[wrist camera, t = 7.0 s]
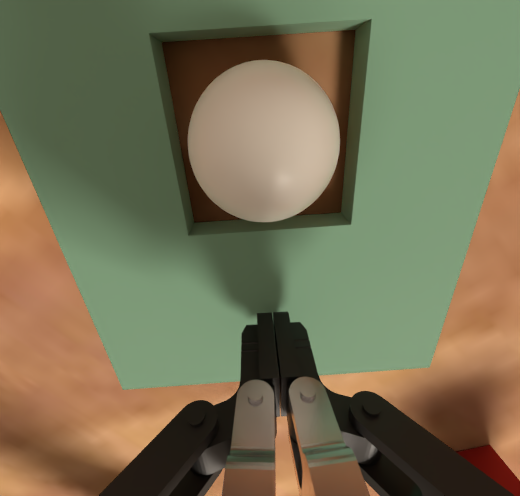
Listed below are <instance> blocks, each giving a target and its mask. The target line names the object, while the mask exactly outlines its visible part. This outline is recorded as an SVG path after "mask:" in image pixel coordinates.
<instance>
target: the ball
mask: <svg viewBox="0 0 520 496" xmlns="http://www.w3.org/2000/svg"><path fill="white" fill-rule="evenodd" d="M339 151H340V130H339V124H338V120H337V116H336V113H335V110H334V108H333V105H332V103H331V101H330V100H329V98H328V96H327V95H326V93H325V92H324V90H323V89H322V88H321V86H320V85H319V84H318V83H317V82H316V81H315V80H314V79H313V78H312V77H310V76H309V75H308V74H306V73H305V72H303V71H302V70H300V69H299V68H297V67H294V66H292V65H290V64H287V63H283V62H279V61H273V60H254V61H249V62H244V63H242V64H239V65H236V66H234V67H232V68H230V69H228V70H226V71H225V72H223V73H222V74H221V75H219V76H218V77H217V78H215V79H214V80H213V81H212V82H211V83H210V84H209V85H208V87H207V88H206V89H205V91H204V92H203V93H202V95H201V96H200V98H199V100H198V102H197V104H196V105H195V108H194V110H193V113H192V116H191V120H190V124H189V129H188V153H189V159H190V164H191V167H192V170H193V172H194V175H195V177H196V179H197V181H198V183H199V185H200V186H201V188H202V189H203V191H204V192H205V193H206V195H207V196H208V197H209V198H210V199H211V200H212V201H213V202H214V203H215V204H216V205H217V206H219V207H220V208H221V209H222V210H224V211H226V212H227V213H229V214H231V215H233V216H236V217H238V218H241V219H244V220H247V221H252V222H274V221H279V220H283V219H287V218H289V217H292V216H294V215H296V214H298V213H300V212H302V211H303V210H305V209H306V208H307V207H309V206H310V205H311V204H312V203H313V202H315V201H316V200H317V199H318V198H319V196H320V195H321V194H322V193H323V192H324V190H325V189H326V187H327V185H328V184H329V182H330V180H331V178H332V176H333V174H334V171H335V169H336V166H337V161H338V157H339Z"/></svg>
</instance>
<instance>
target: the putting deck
mask: <svg viewBox="0 0 520 496" xmlns="http://www.w3.org/2000/svg"><path fill="white" fill-rule="evenodd" d="M343 30H356V31H355V44H354V56H353V69H352V81H351V94H350V106H349V119H348V131H347V144H346V156H345V169H344V181H343V194H342V206H341V213H327V214H312V215H298V216H292V217H289V218H287V219H283V220H279V221H274V222H252V221H247V220H244V219H240V220H225V221H211V222H196V223H194V218H193V213H192V207H191V201H190V196H189V190H188V185H187V179H186V174H185V168H184V163H183V157H182V152H181V146H180V141H179V135H178V130H177V124H176V118H175V113H174V107H173V102H172V96H171V91H170V85H169V80H168V74H167V69H166V63H165V58H164V52H163V46H162V42H173V41H188V40H204V39H219V38H235V37H250V36H266V35H281V34H296V33H312V32H327V31H343ZM519 89H520V0H0V111H1V113H2V115H3V117H4V120H5V122H6V124H7V126H8V129H9V131H10V133H11V136H12V138H13V140H14V142H15V145H16V147H17V149H18V152H19V154H20V156H21V158H22V161H23V163H24V165H25V168H26V170H27V172H28V174H29V177H30V179H31V181H32V183H33V186H34V188H35V190H36V193H37V195H38V197H39V199H40V202H41V204H42V206H43V209H44V211H45V213H46V215H47V218H48V220H49V222H50V224H51V227H52V229H53V231H54V234H55V236H56V238H57V240H58V243H59V245H60V247H61V250H62V252H63V254H64V256H65V259H66V261H67V263H68V265H69V268H70V270H71V272H72V275H73V277H74V279H75V281H76V284H77V286H78V288H79V291H80V293H81V295H82V297H83V300H84V302H85V304H86V306H87V309H88V311H89V313H90V316H91V318H92V320H93V322H94V325H95V327H96V329H97V332H98V334H99V336H100V338H101V341H102V343H103V345H104V347H105V350H106V352H107V354H108V357H109V359H110V361H111V363H112V366H113V368H114V370H115V373H116V375H117V377H118V379H119V382H120V384H121V386H122V389H123V390H126V389H140V388H153V387H167V386H181V385H195V384H208V383H222V382H236V381H240V375H241V337H242V332H243V330H244V328H245V326H246V325H255V324H257V313H269V312H272V318H273V312H286V311H288V313H289V318H290V322H301V324H302V325H303V326H304V327H305V328H306V330H307V333H308V337H309V341H310V345H311V349H312V352H313V356H314V360H315V364H316V368H317V372H318V375H332V374H346V373H360V372H373V371H387V370H401V369H415V368H428V367H430V364H431V361H432V358H433V355H434V352H435V349H436V346H437V343H438V340H439V336H440V333H441V330H442V327H443V324H444V321H445V318H446V315H447V312H448V309H449V305H450V302H451V299H452V296H453V293H454V290H455V287H456V284H457V281H458V278H459V275H460V271H461V268H462V265H463V262H464V259H465V256H466V253H467V250H468V247H469V244H470V240H471V237H472V234H473V231H474V228H475V225H476V222H477V219H478V216H479V213H480V209H481V206H482V203H483V200H484V197H485V194H486V191H487V188H488V185H489V182H490V179H491V175H492V172H493V169H494V166H495V163H496V160H497V157H498V154H499V151H500V148H501V144H502V141H503V138H504V135H505V132H506V129H507V126H508V123H509V120H510V117H511V114H512V110H513V107H514V104H515V101H516V98H517V95H518V92H519Z"/></svg>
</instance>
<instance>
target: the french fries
mask: <svg viewBox="0 0 520 496" xmlns="http://www.w3.org/2000/svg"><path fill="white" fill-rule="evenodd" d="M456 453H458V454H459V455H461V456H462V457H463V458H465V459H466V460H467V461H469V462H470V463H471V464H473V465H474V466H475V467H477V468H478V469H479V470H481V471H482V472H484V473H485V474H486V475H488V476H489V477H490V478H492V479H493V480H494V481H496V482H497V483H498V484H500V485H501V486H502V487H504V488H505V489H507V490H508V491H509V492H511V493H512V494H513V495H515V496H520V481H519V480H518V478H517V477H516V476H515V475H514V473H513V472H512V471H511V470H510V469H509V467H508V466H507V465H506V464H505V463H504V461H503V460H502V459H501V458H500V457H499V455H498V454H497V453H496V452H495V451H494V449H493V448H492V447H491V446H490V445H487V446H482V447H477V448H473V449H468V450H463V451H458V452H456Z"/></svg>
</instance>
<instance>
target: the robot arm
mask: <svg viewBox="0 0 520 496" xmlns="http://www.w3.org/2000/svg"><path fill="white" fill-rule="evenodd" d="M280 408H281V416H287V420H288V437H289V443H290V448H291V453H292V458H293V463H294V469H295V474H296V479H297V484H298V489H299V495H300V496H370V494H369V491H368V489H367V486H366V483H365V481H366V482H367V483H368V484H369V485H370V486H371V487H372V488H373V489H374V490H375V491H376V492H377V493H378V494H379V495H380V496H515V495H513V494H512V493H511V492H509V491H508V490H507V489H505V488H504V487H502V486H501V485H500V484H498V483H497V482H496V481H494V480H493V479H492V478H490V477H489V476H488V475H486V474H485V473H484V472H482V471H481V470H479V469H478V468H477V467H475V466H474V465H473V464H471V463H470V462H469V461H467V460H466V459H465V458H463V457H462V456H461V455H459V454H458V453H456V452H455V451H454V450H452V449H451V448H450V447H448V446H447V445H446V444H444V443H443V442H442V441H440V440H439V439H438V438H436V437H435V436H433V435H432V434H431V433H429V432H428V431H427V430H425V429H424V428H423V427H421V426H420V425H419V424H417V423H416V422H415V421H413V420H412V419H410V418H409V417H408V416H406V415H405V414H404V413H402V412H401V411H400V410H398V409H397V408H396V407H394V406H393V405H392V404H390V403H389V402H387V401H386V400H385V399H383V398H382V397H381V396H379V395H377V394H375V393H373V392H369V391H361V392H358V393H356V394H355V395H354V396H353V397H348V396H344V395H340V394H337V393H334V392H332V391H330V390H329V389H327V388H326V387H325V386H324V385H323V384H322V382H321V381H320V379H319V376H318V372H317V368H316V364H315V360H314V356H313V352H312V349H311V345H310V341H309V337H308V333H307V330H306V328H305V327H304V326H303V325H302V324H301V322H290V318H289V313H288V311H286V312H273V318H272V312H269V313H257V324H255V325H246V326H245V328H244V330H243V332H242V337H241V375H240V386H239V388H238V390H237V392H236V393H235V394H234V395H233V396H232V397H231V398H230V399H228V400H226V401H224V402H221V403H219V404H216V405H214V406H213V405H212V404H211V403H210V402H208V401H204V400H198V401H194V402H192V403H190V404H188V405H187V406H185V407H184V408H183V409H182V410H181V411H180V412H179V413H178V414H177V415H176V416H175V418H174V419H173V420H172V421H171V422H170V423H169V424H168V425H167V426H166V427H165V428H164V429H163V430H162V431H161V432H160V433H159V434H158V435H157V436H156V437H155V438H154V439H153V440H152V441H151V442H150V443H149V444H148V445H147V446H146V447H145V448H144V449H143V450H142V451H141V453H140V454H139V455H138V456H137V457H136V458H135V459H134V460H133V461H132V462H131V463H130V464H129V465H128V466H127V467H126V468H125V469H124V470H123V471H122V472H121V473H120V474H119V475H118V476H117V477H116V478H115V479H114V480H113V481H112V482H111V483H110V484H109V485H108V486H107V488H106V489H105V490H104V491H103V492H102V493H101V494H100V495H99V496H204V495H205V494H206V493H207V491H208V490H209V488H210V487H211V486H212V484H213V483H214V481H215V480H216V479H217V477H218V476H219V474H220V473H221V471H222V469H223V468H225V474H224V482H223V490H222V496H276V472H275V438H276V434H277V424H276V417H280ZM364 480H365V481H364Z"/></svg>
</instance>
